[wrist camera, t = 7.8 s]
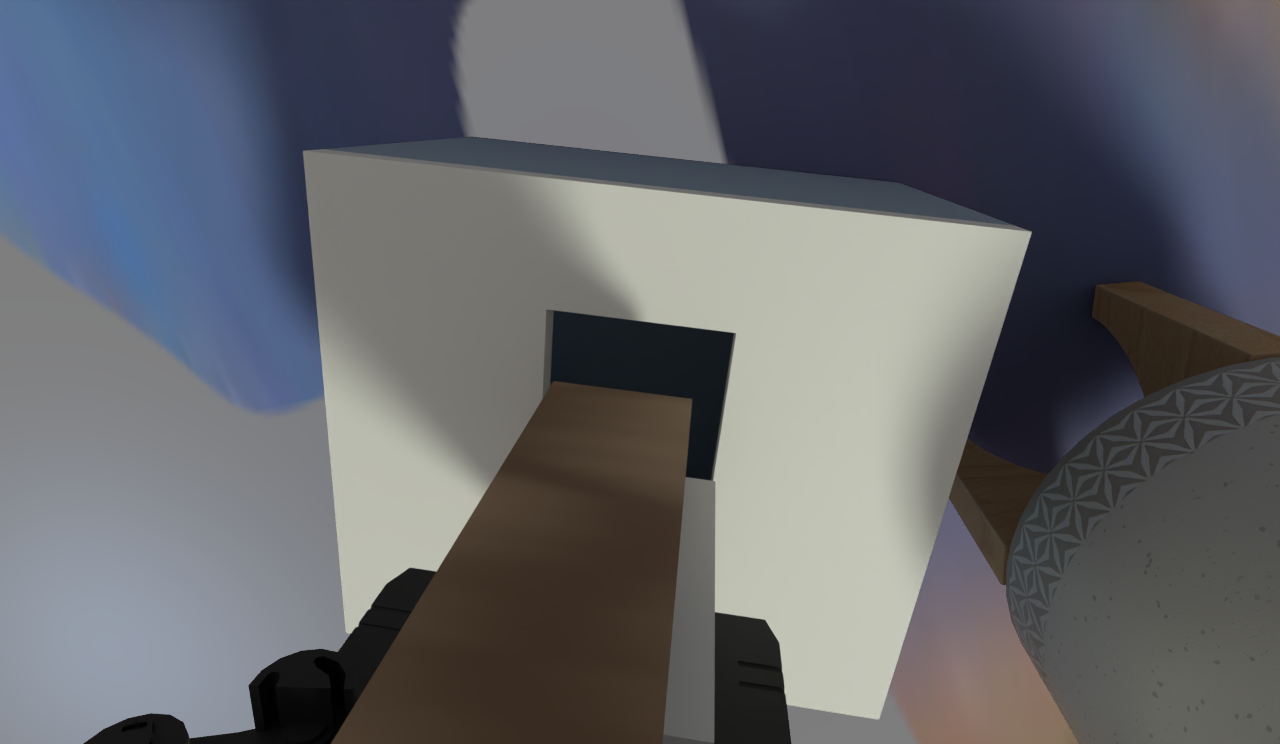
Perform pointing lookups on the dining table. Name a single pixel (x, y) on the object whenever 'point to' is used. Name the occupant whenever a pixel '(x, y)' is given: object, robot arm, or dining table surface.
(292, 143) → the dining table surface
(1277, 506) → the planter
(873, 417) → the coin box
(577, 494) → the block
